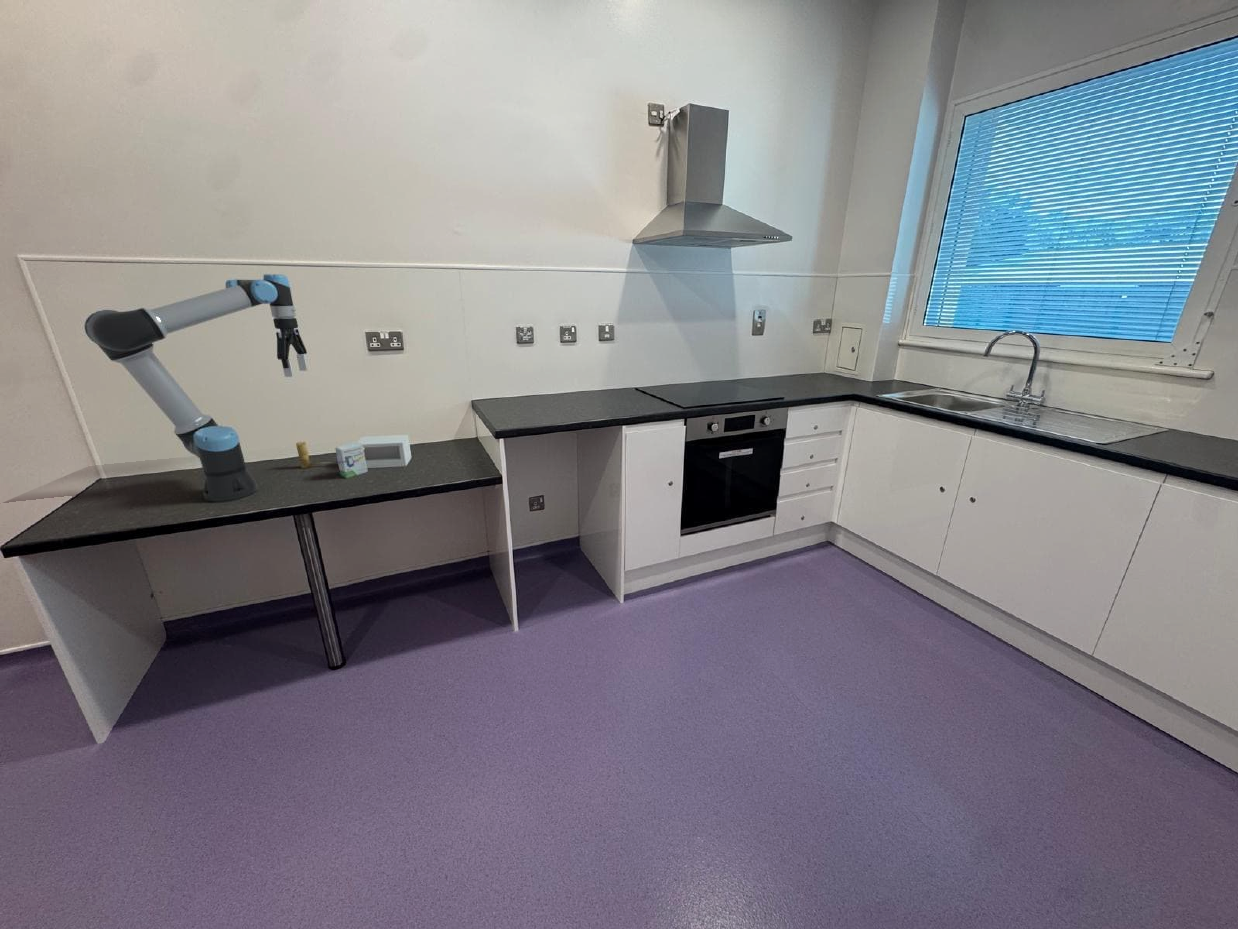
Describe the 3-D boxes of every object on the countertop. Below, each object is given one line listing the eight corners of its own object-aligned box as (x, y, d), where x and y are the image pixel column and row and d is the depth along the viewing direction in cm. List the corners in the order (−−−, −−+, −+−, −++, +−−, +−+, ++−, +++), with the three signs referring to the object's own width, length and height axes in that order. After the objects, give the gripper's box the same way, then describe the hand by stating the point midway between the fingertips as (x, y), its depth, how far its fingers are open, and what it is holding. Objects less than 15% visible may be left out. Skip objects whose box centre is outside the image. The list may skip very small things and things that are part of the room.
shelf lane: (357, 468, 199) (353, 444, 195) (365, 459, 209) (361, 436, 206) (405, 466, 202) (402, 442, 199) (411, 457, 212) (408, 434, 209)
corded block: (298, 469, 197) (293, 445, 194) (304, 464, 203) (299, 441, 199) (357, 466, 201) (353, 443, 198) (362, 461, 207) (358, 438, 203)
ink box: (361, 469, 198) (356, 441, 194) (368, 472, 196) (363, 444, 191) (339, 475, 192) (334, 446, 188) (346, 478, 189) (340, 449, 185)
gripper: (280, 319, 176) (293, 378, 184) (308, 315, 199) (319, 368, 207) (257, 319, 175) (271, 379, 182) (288, 315, 198) (299, 368, 205)
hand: (296, 373), depth 195 cm, fingers open, 13 cm apart
